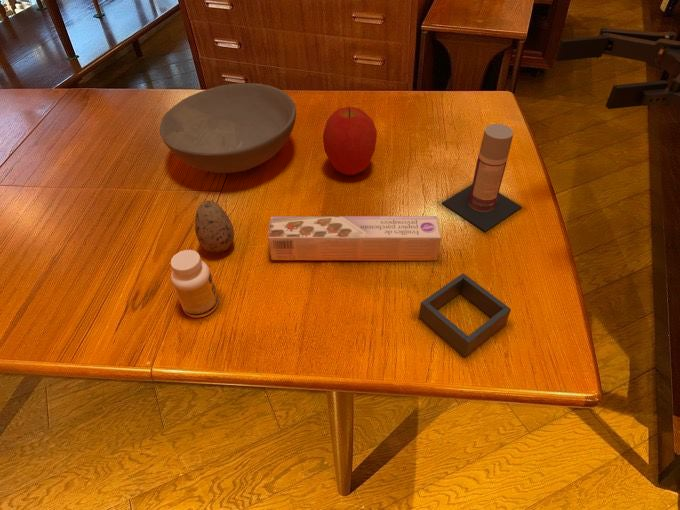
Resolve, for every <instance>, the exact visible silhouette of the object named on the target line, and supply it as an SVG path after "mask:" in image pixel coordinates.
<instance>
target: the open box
mask: <svg viewBox="0 0 680 510" xmlns="http://www.w3.org/2000/svg"><path fill="white" fill-rule="evenodd" d="M458 295H461V296H462V297H464V298H465V299H466V300H467V301H469V302H470V303H471V304H473V305H474V306H475V307H476V308H478V309H479V310H480V311H481V312H483V313H484V314H485V315H486V316H488V317H489V318H490V319H487V321H485V322H484V323H483V324H482V325H479V327H478V328H476V329H475V330H474V331H473V332H472V333H470V334H466V333H465V332H464V331H463V330H462V329H460V327H458V326H457V325H456V324H454V323H453V322H452V321H451V320H450V319H449V318H447V317H446V316H445V315H443V313H441V312H440V311H439V309H441V308H442V307H443V306H445V304H447V303H449V302H450V301H452V300H454V298H455V297H457V296H458ZM511 311H512V308H511V307H509V306H508V305H506V303H504V302H503V301H501V300H500V299H498V298H497V297H496V296H494V295H493V294H492V293H491V292H489V291H488V290H486V289H485V288H484V287H483V286H481V284H478V283H477V282H476V281H474V279H472V278H471V277H469V276H468V275H466V274H465V273H464V272H462V273H461V274H459V275H457V277H455V278H454V279H452V280H451V281H449V282H448V283H447V284H445V285H444V286H442V287H441V288H440V289H438V290H437V291H435V292H434V293H432V294H431V295H429V296H428V297H427V298H425V299H424V300H422V301H421V302H420V306H419V311H418V318H419V319H420V320H421V321H422V322H423V323H424V324H426V325H427V326H428V327H429V328H430V329H431V330H432V331H434V332H435V333H436V334H437V335H438V336H439V337H441V339H443V340H444V341H445V342H446V343H447V344H448V345H450V347H452V348H453V349H454V350H455V351H456V352H457V353H458V354H460V355H461V356H462V357H463V358H466V357H467V356H468V355H470V353H472V352H474V350H476V349H477V348H478V347H479V346H481V345H482V344H483V343H485V341H486V340H487V341H488V339H489V338H490V337H492V336H493V335H494V334H495V333H496V332H498V331H499V330H500V329H502V328H503V327H504V326H505V325H506V324H507V322H508V319H509V316H510V313H511Z"/></svg>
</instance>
